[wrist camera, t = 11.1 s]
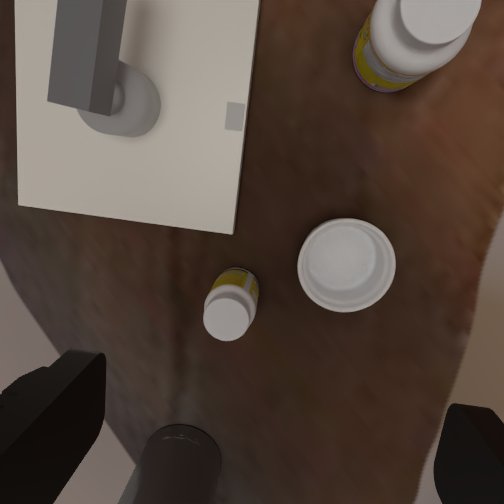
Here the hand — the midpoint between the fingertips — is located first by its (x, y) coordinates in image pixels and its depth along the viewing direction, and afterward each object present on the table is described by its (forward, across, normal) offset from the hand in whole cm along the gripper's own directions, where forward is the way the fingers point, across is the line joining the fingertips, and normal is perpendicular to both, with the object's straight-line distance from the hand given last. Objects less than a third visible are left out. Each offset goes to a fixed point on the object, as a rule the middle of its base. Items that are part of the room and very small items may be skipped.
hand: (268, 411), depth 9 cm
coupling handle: (+25, +15, -13) cm, 32 cm away
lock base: (+32, +15, -9) cm, 36 cm away
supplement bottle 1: (+32, +4, +8) cm, 33 cm away
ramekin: (+32, -6, +3) cm, 33 cm away
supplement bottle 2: (+32, -8, -16) cm, 36 cm away
